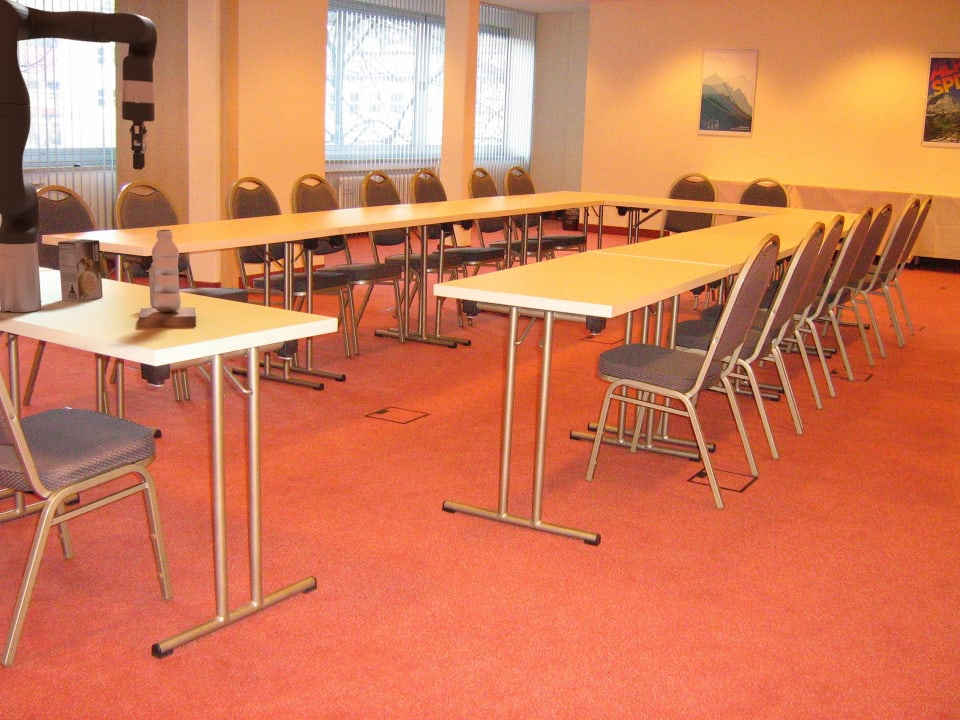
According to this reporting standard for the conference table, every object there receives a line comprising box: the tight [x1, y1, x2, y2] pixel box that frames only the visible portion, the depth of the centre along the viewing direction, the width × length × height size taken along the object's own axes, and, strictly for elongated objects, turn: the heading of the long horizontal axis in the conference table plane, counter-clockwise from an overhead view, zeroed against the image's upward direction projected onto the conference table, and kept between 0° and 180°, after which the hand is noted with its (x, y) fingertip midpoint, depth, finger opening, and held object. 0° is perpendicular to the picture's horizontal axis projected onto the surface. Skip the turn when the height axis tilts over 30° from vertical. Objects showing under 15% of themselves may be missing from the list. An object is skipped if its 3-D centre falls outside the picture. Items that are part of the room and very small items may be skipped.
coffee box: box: [57, 238, 104, 303], centre depth 273 cm, size 9×6×16 cm
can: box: [148, 262, 180, 308], centre depth 264 cm, size 8×8×12 cm
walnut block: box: [138, 307, 197, 328], centre depth 245 cm, size 13×13×2 cm
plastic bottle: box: [151, 229, 182, 313], centre depth 242 cm, size 6×7×20 cm
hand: (139, 168), depth 246 cm, fingers open, 8 cm apart
